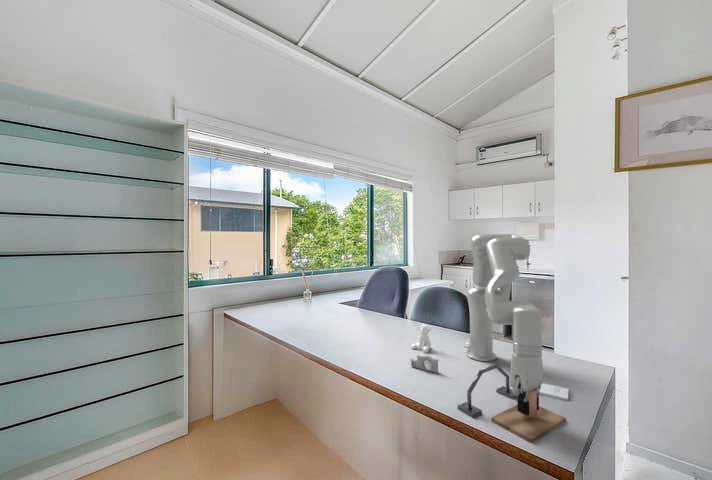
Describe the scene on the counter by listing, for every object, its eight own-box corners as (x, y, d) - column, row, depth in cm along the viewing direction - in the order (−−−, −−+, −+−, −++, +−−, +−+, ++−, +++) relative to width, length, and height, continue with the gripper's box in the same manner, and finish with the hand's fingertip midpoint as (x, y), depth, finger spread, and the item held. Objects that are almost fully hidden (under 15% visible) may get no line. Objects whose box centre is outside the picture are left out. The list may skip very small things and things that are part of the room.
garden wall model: (410, 366, 133) (410, 352, 133) (412, 365, 135) (412, 351, 135) (437, 373, 126) (437, 358, 126) (439, 371, 128) (439, 357, 128)
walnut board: (491, 420, 93) (491, 417, 93) (525, 403, 102) (525, 400, 102) (531, 443, 83) (531, 439, 83) (566, 421, 92) (566, 417, 92)
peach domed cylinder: (516, 411, 93) (516, 388, 93) (525, 407, 96) (524, 384, 96) (531, 418, 90) (531, 394, 90) (540, 414, 92) (539, 390, 92)
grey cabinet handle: (457, 408, 100) (456, 372, 100) (503, 388, 112) (502, 356, 112) (473, 417, 95) (472, 379, 95) (519, 395, 107) (518, 361, 107)
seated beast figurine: (410, 348, 155) (409, 324, 155) (420, 344, 161) (420, 321, 161) (426, 353, 148) (425, 328, 148) (436, 349, 154) (436, 324, 154)
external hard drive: (528, 383, 117) (568, 392, 110) (525, 392, 111) (568, 402, 103) (528, 379, 117) (568, 388, 110) (525, 388, 111) (567, 398, 103)
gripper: (530, 340, 100) (531, 397, 100) (498, 350, 91) (499, 413, 91) (555, 346, 94) (556, 408, 94) (523, 359, 85) (524, 426, 85)
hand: (528, 410), depth 93 cm, fingers closed on peach domed cylinder, 4 cm apart
